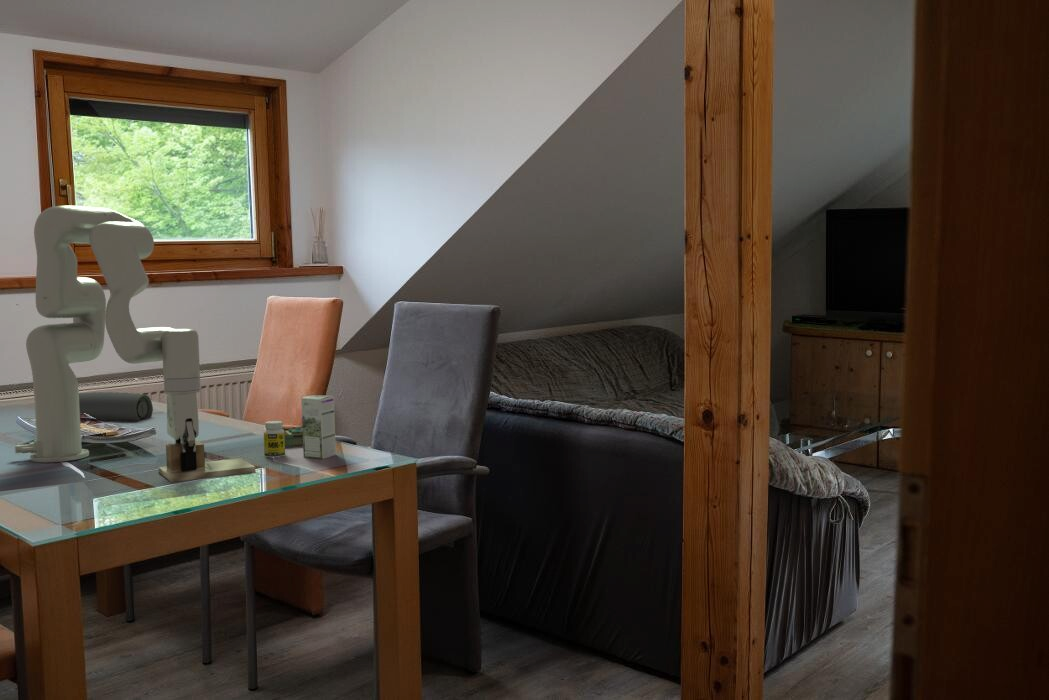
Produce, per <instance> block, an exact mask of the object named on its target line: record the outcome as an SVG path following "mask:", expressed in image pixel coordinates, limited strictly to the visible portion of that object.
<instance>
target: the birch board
mask: <svg viewBox="0 0 1049 700" xmlns="http://www.w3.org/2000/svg"><path fill="white" fill-rule="evenodd" d="M158 472H159V474H160V475H161V476H162V477H164V478H165V479H166V480H168V481H169V482H170V483H175V482H184V481H190V480H198V479H208V478H217V477H225V476H234V475H242V474H249V473H256V466H255V465H253V464H251V463H250V462H248V461H246V460H244V459H243V458H241V457H237V458H229V459H227V458H226V459H220V460H213V461H205V469H203V470H195V471H186V472H177V473H171V472H170V471H168V470H167V465H165V466H159V467H158Z"/></svg>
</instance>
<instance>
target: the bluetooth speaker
mask: <svg viewBox="0 0 1049 700" xmlns="http://www.w3.org/2000/svg"><path fill="white" fill-rule="evenodd" d="M153 406H154V405H153V403H152V400H151V398H150V397H149V395H147V394H143V393H134V392H133V393H130V392H129V393H128V392H119V391H118V392H117V391H116V392H112V391H108V392H107V391H104V392H103V391H98V392H97V391H96V392H79V408H80V413H86V414H89V415H90V416H92V417H94V418H96V419H100V420H99V421H126V422H127V421H128V422H133V421H134V422H139V421H140V422H141V420H142V419H151V418H152V416H153V412H154V407H153Z"/></svg>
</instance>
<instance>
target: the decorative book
mask: <svg viewBox="0 0 1049 700" xmlns="http://www.w3.org/2000/svg"><path fill="white" fill-rule="evenodd" d="M282 429H283V430H284V438H285V448H292V447H293V448H294V447H303V429H302V425H301V426H296V427H295V426H293V427H282Z"/></svg>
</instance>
